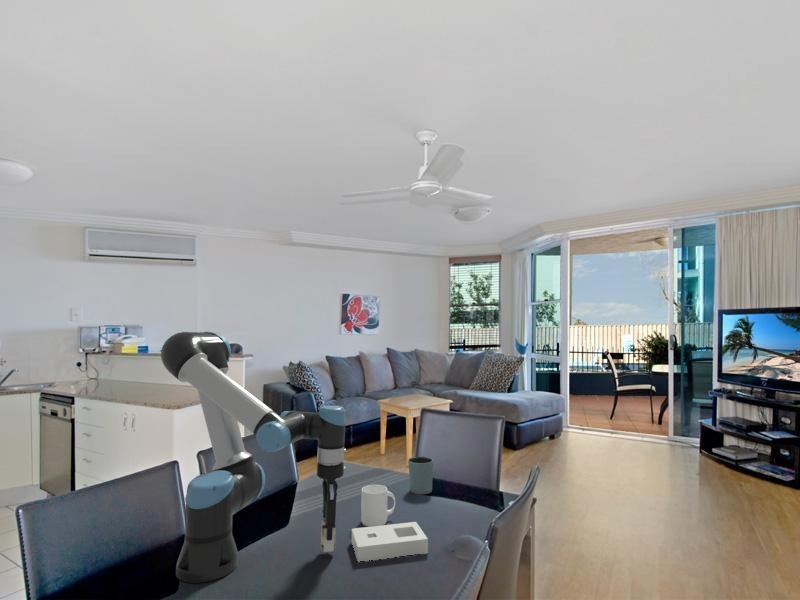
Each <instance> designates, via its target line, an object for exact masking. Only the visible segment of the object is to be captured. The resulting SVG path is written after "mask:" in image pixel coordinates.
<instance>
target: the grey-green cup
mask: <svg viewBox="0 0 800 600" xmlns="http://www.w3.org/2000/svg"><path fill="white" fill-rule="evenodd" d="M407 464H408V473H409V474H408V477H409V487H410V492H411V493H412V494H416V495H426V494H427V495H428V494H431V493H432V491H433V479H434V478H433V476H434V475H433V474H434V471H433V470H434V459H433V458H432V457H429V456H414V457H413V456H412V457H410V458H408V459H407Z"/></svg>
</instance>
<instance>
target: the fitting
mask: <svg viewBox="0 0 800 600" xmlns="http://www.w3.org/2000/svg"><path fill="white" fill-rule="evenodd" d="M320 524H321V526H320V527H321V529H320V534H321V535H320V550H321V551H322V552H324V551H323V550H324V528H322V526H324V525H325V520H323V519H322V521H321V523H320ZM335 524H336V526H335V528H334V550H336V546H337V544H336V536H337V535H336V531H337V529H336V527H337V522H336V520H335Z"/></svg>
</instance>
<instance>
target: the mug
mask: <svg viewBox="0 0 800 600" xmlns="http://www.w3.org/2000/svg"><path fill="white" fill-rule="evenodd" d="M360 493H361V498H360V499H361V506H360V509H361V511H360V512H361V513H360V517H361V519H360V520H361V523H362V525H363V526H365V527H372V526H381V525H387V524H386V523H387V522H388V516H390V515H391V514H393V512H394V510H395V507H396V496H395V495H394V493H392V492H391V491H389V490H388V488H387V486H385V485H382V484H369V485H365V486H363V487H362V488H361V492H360ZM388 497H391V498H392V499H393V503H394V504H393V506H392V508H391V509H390V508H389V509H388Z"/></svg>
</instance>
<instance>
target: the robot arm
mask: <svg viewBox="0 0 800 600" xmlns="http://www.w3.org/2000/svg"><path fill="white" fill-rule="evenodd" d="M160 351H161V352H160V359H161V362H162V364H163V366H164V368H165V369H166V370H167V371H168V373H170V374H171V375H172V376H173V377H174V378H176V379H177V380H178V381H179V382H181V383H189V385H191V386H192V387H193V388H195V389H196V390H197V393H198V397H199V401H200V405H201V409H202V414H203V417H204V422H205V426H206V428H207V432H208V437H209V440H210V444H211V448H212V452H213V455H214V459H215V463H214V464H213V466H212V469H211V471H208V472H205V473H202V474H199V475H197V476H195V477H193V479H191V480H190V481H189V483H188V484H187V487H186V493H185V494H186V495H185V518H184V519H185V522H184V543H182V547H181V549H180V550H181V551H180V554H179V556H178V559H177V562H176V565H175V577H176V578H177V579H178V580H179V581H181V582H184V583H189V584H197V583H198V584H200V583H206V582H211V581H216V580H218V579H221V578H223V577H225V576H227V575H229V574H231V573H233V571H234V570H236V568H237V566H238V565H239V553H238V549H237V545H236V542H235V539H234V536H233V515H235V514H237V513H238V512H240V511H241V510H243V508H245V507H247V506H250V505H251V504H252V503H254V502H255V501H256V499H258V498H259V497H260V496H261V494H262V493H263V490H264V488H265V485H266V473H265V470H264V469H263V467H262V465H260V464H259V463H258V462H256V461H254V457H253V455H252V453H250V452H248V451H247V450H246V449H245V443H244V442H243V437H242V433H241V430H240V426H239V424H241V425H242V427H245V428H246V430H248V431H249V432H250V433H252V434H253V435H255V440H256V443H257V445H258V447H259V449H261V451H262V452H266V453H274V452H278V451H281V450H283V449H284V448H287V447H288V446H290V445H292V444H294V443H296V442H297V441H299V440H315V441H316V440H317V457H316V458H317V459H316V460H317V465H316V476H317V477H318V478H320V479H322V483H321V484H322V485H321V486H322V517H323V519H322V521H323V520H325V525H324V526H322V528H324V550H323V551H322V552H324V553H326V552H327V553H328V552H334V550H335V549H334V528H335V526H336V527H337V523H336V524H335V521H336V517H337V516H336V515H337V514H336V512H337V511H336V510H337V495H338V492H337V491H338V487H339V486H338V482H337V479H340V478H342V477H343V476H344V468H345V467H344V466H345V463H344V459H345V453H347V449H346V448H345V437H346V410H345V408H344V407H343V406H340V405H324V406H320V407H319V408H318V410H319V411H318V412H312V411H311V412H310V411H298V410H285V411H282V412H281V414H280V415H279V414H278V413H277V412H275V411H274V410H273V409H272V408H270V407H269V406H268V405H266V404H265V403H263V402H262V401H261V400H260V399H258V398H257V397H256V396H254V395H253V394H252V393H250V392H249V391H248V390H246V388H244V387H243V386H241V385H240V384H239V383H238V382H236V381H235V380H233V378H232V377H229V375H227V373H228V371H229V370H230V367H229V364H228V362H229V361H230V358H231V356H232V349H231V344H230V343H229V341H228V340H227V339H226V337H224V336H223V335H222V334H219V333H216V332H211V331H204V332H203V331H202V332H201V331H200V332H199V331H197V332H196V331H195V332H194V331H182V332H177V333H174V334H173V335H171V336H169V337H168V338H167V339H166V340H165V341H164V343H163V345H162V347H161V350H160Z"/></svg>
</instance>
